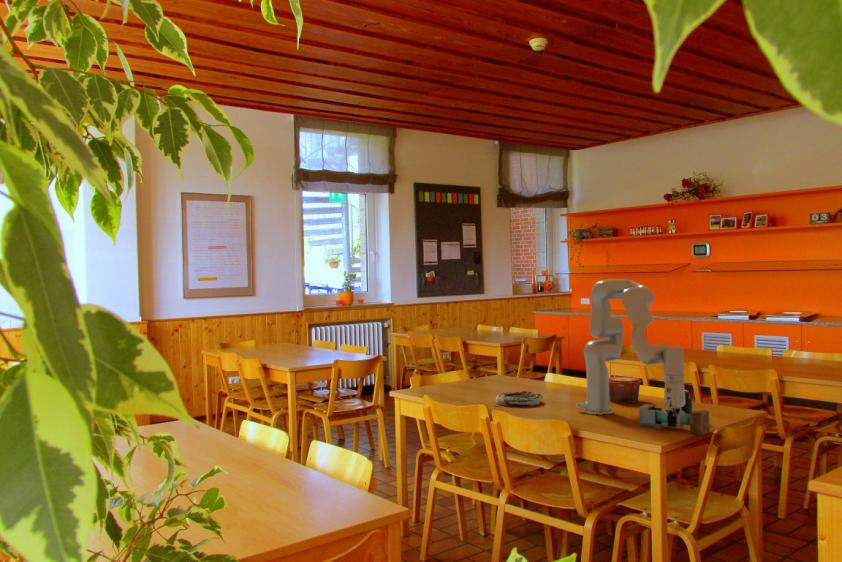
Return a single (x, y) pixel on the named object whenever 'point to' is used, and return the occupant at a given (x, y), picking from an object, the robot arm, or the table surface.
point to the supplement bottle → (687, 404)
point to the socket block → (699, 422)
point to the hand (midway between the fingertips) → (674, 424)
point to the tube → (680, 417)
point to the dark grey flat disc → (518, 398)
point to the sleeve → (650, 417)
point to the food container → (624, 389)
